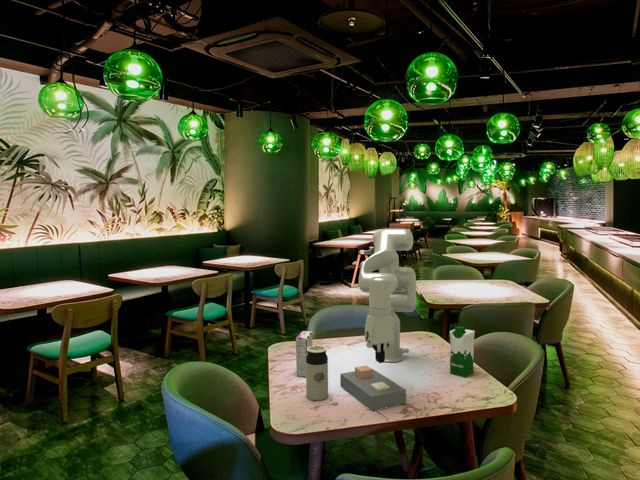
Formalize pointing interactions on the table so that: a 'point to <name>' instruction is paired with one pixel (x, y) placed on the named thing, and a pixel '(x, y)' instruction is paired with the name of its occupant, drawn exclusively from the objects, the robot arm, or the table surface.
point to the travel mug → (316, 373)
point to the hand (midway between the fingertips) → (380, 361)
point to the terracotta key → (363, 372)
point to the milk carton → (461, 351)
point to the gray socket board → (373, 390)
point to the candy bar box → (302, 351)
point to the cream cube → (380, 386)
